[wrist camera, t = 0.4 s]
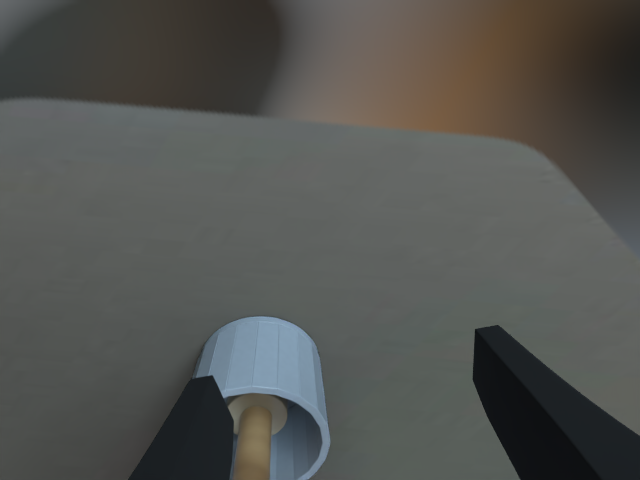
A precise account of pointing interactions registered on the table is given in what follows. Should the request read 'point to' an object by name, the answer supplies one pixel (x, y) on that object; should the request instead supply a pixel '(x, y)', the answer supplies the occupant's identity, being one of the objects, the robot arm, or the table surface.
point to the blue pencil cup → (274, 386)
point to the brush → (255, 432)
